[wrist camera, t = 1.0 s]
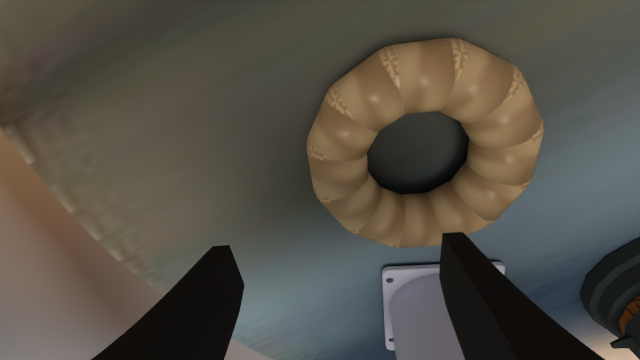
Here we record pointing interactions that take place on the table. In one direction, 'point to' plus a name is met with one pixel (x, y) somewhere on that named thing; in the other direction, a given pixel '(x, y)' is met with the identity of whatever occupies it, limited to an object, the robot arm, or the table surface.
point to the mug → (617, 295)
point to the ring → (417, 97)
